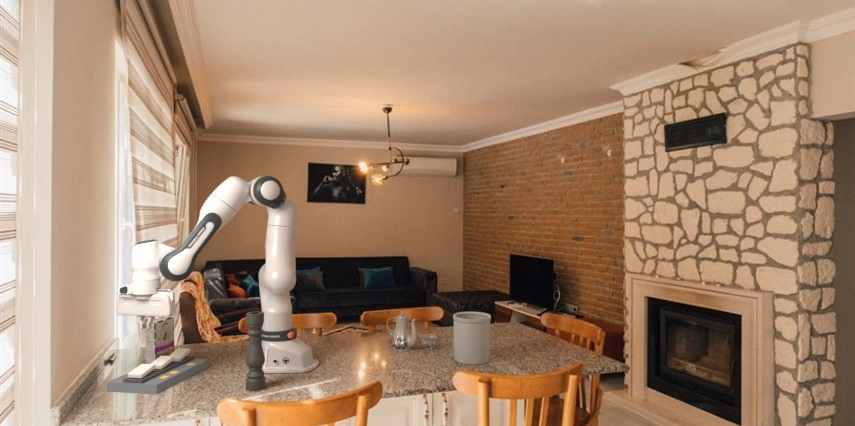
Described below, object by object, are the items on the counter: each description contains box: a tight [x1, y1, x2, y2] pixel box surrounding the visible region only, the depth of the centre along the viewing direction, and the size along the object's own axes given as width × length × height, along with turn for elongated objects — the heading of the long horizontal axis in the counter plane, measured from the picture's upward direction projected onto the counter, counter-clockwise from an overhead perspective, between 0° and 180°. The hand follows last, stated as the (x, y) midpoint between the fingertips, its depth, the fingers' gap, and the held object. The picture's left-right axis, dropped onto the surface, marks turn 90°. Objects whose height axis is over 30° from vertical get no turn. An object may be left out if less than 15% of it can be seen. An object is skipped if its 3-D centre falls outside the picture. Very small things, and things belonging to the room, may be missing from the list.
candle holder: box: [245, 310, 266, 392], centre depth 179 cm, size 6×6×25 cm
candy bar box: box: [144, 316, 176, 364], centre depth 212 cm, size 11×5×16 cm, turn 168°
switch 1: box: [128, 363, 156, 378], centre depth 180 cm, size 5×7×1 cm
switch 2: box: [150, 356, 174, 369], centre depth 190 cm, size 5×7×1 cm
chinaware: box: [385, 310, 440, 352], centre depth 231 cm, size 28×17×17 cm, turn 58°
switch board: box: [106, 355, 210, 395], centre depth 190 cm, size 18×30×4 cm, turn 171°
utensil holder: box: [452, 311, 492, 365], centre depth 211 cm, size 15×15×18 cm
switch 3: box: [169, 347, 192, 361], centre depth 200 cm, size 5×7×1 cm
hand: (146, 328), depth 183 cm, fingers closed
